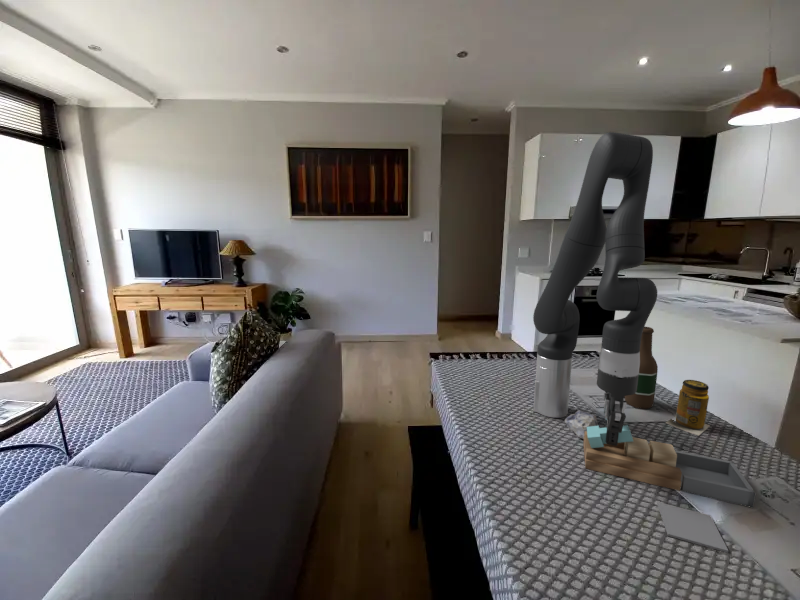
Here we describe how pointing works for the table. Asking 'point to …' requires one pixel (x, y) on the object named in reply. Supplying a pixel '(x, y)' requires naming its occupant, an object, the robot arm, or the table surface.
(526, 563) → the table surface
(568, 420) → the mineral specimen
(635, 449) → the tan wooden cube
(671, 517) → the mat
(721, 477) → the tray
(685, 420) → the condiment
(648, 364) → the beer bottle
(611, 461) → the slot board
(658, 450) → the tan block
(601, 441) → the teal t-shaped block
